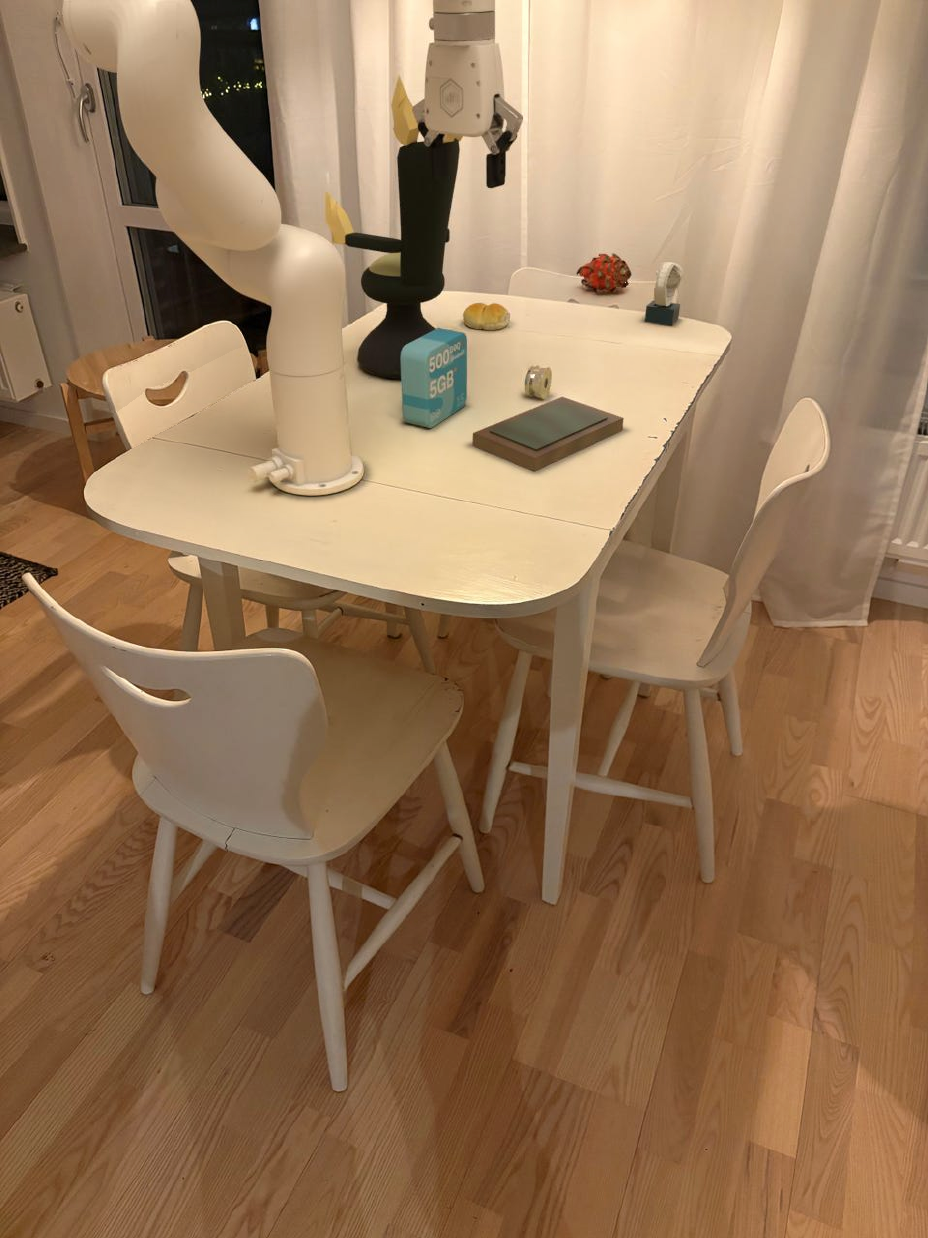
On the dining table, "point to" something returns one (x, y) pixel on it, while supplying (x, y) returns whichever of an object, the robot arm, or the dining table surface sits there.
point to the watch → (665, 295)
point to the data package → (434, 377)
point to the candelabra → (403, 245)
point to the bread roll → (486, 316)
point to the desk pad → (547, 433)
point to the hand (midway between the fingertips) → (466, 181)
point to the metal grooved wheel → (538, 381)
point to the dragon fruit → (605, 273)
